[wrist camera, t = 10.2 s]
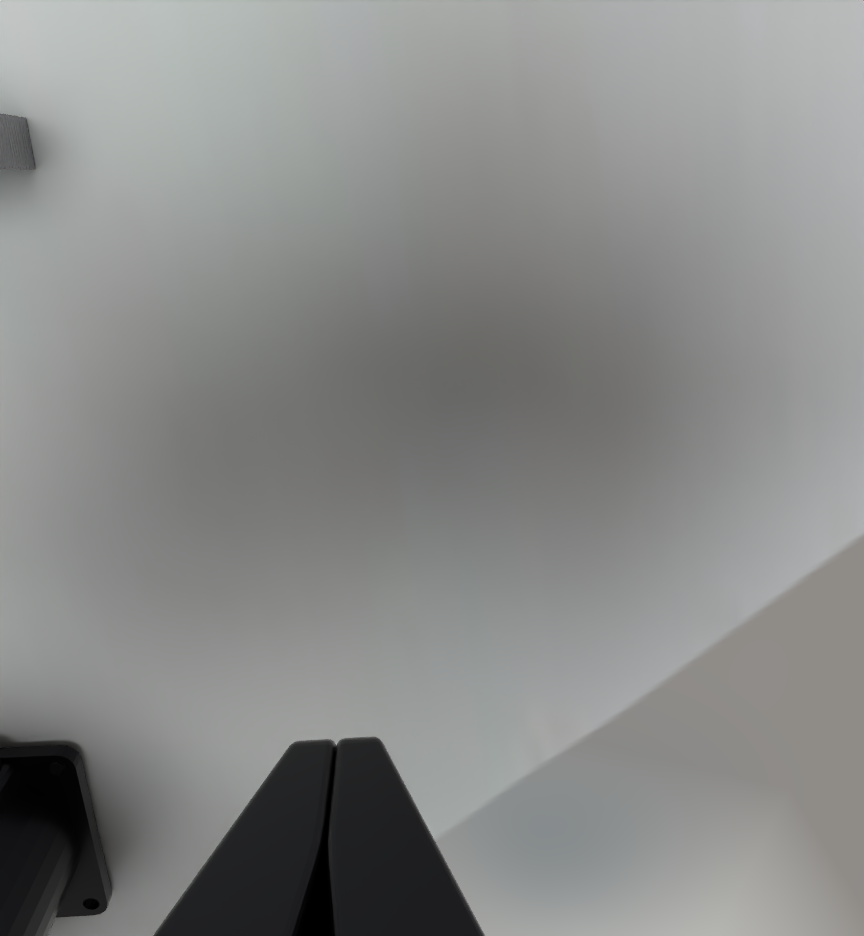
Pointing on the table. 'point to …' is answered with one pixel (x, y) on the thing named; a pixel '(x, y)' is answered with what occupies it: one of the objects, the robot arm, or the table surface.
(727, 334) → the table surface
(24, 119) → the gray rectangular bar
